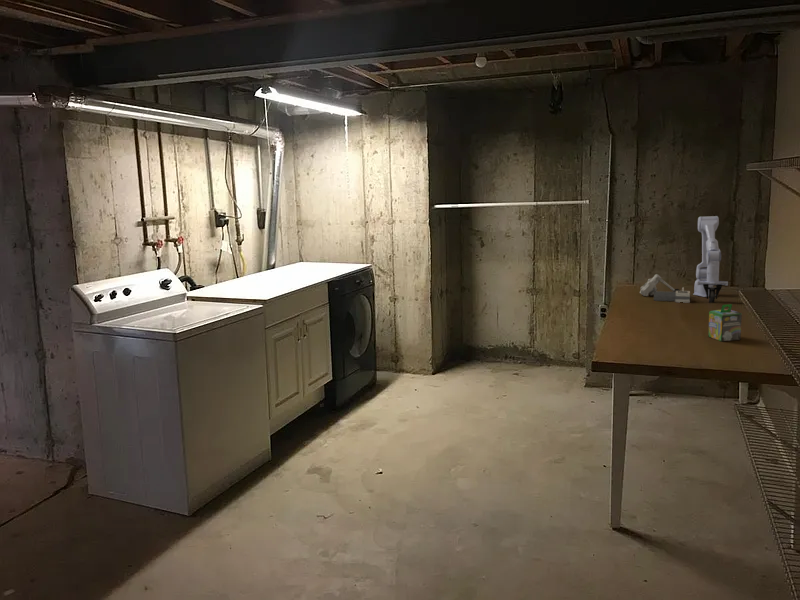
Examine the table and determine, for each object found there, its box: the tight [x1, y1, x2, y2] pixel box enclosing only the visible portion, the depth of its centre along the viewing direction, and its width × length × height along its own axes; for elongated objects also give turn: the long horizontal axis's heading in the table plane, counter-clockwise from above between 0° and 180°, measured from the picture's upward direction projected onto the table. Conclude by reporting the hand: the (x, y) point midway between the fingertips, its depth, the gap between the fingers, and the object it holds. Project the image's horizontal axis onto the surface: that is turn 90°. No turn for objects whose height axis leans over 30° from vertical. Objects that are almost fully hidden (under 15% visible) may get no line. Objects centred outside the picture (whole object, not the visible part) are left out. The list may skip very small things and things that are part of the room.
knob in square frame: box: [653, 286, 691, 304], centre depth 352 cm, size 18×18×5 cm
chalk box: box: [708, 303, 743, 342], centre depth 267 cm, size 9×9×15 cm
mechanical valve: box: [639, 273, 681, 297], centre depth 363 cm, size 10×18×15 cm
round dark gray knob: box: [708, 286, 716, 303], centre depth 339 cm, size 4×4×8 cm
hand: (711, 298), depth 339 cm, fingers closed on round dark gray knob, 3 cm apart
